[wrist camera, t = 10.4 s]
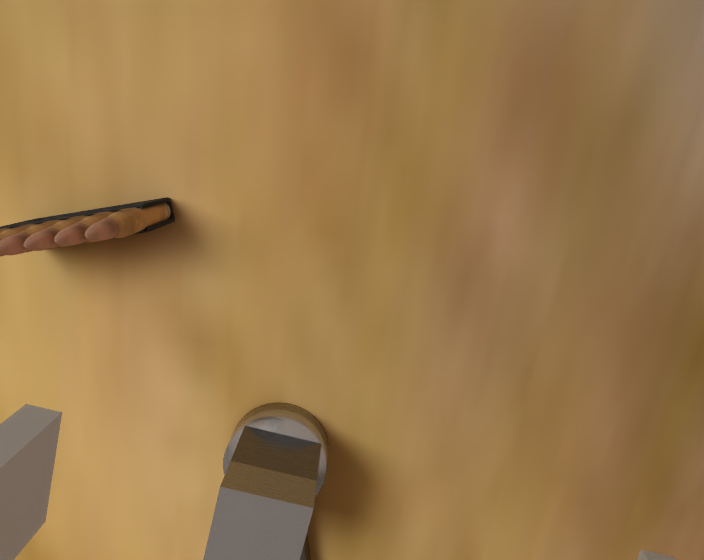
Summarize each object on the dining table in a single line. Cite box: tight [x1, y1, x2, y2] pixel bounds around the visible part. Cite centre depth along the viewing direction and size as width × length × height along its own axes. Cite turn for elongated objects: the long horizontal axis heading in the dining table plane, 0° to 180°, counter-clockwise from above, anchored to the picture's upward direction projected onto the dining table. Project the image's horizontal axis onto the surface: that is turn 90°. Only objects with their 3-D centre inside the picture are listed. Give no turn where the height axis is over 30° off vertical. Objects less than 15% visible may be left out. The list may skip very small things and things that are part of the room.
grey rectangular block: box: [204, 426, 321, 560], centre depth 40 cm, size 6×6×8 cm
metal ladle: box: [223, 403, 328, 560], centre depth 46 cm, size 20×8×6 cm, turn 6°
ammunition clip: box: [0, 198, 175, 256], centre depth 37 cm, size 11×2×12 cm, turn 99°
